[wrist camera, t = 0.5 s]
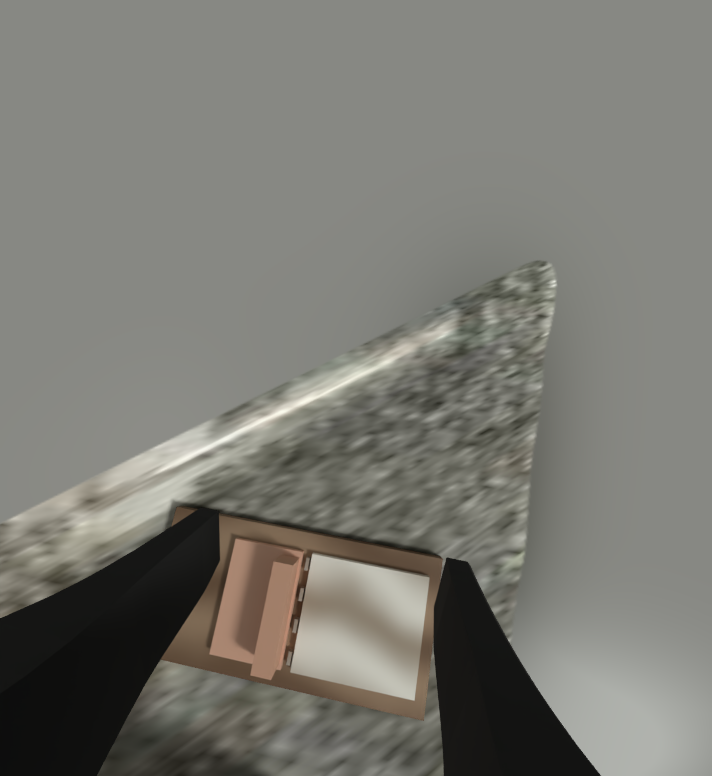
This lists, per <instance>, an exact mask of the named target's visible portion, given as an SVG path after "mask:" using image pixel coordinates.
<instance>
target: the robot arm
mask: <svg viewBox="0 0 712 776" xmlns="http://www.w3.org/2000/svg"><path fill="white" fill-rule="evenodd" d="M219 562H220V531H219V511H217V510H212V509H207V508H202V507H201V508H199V509H198V510H196V511H194V512H193V513H191V514H190V515H188V516H187V517H185V518H184V519H182V520H181V521H179V522H178V523H176V524H175V525H173V526H172V527H170V528H169V529H167V530H165V531H164V532H162V533H161V534H159V535H158V536H156V537H155V538H153V539H151V540H150V541H148V542H147V543H145V544H144V545H142V546H140V547H139V548H137V549H136V550H134V551H132V552H131V553H129V554H127V555H126V556H124V557H122V558H120V559H119V560H117V561H115V562H114V563H112V564H110V565H108V566H107V567H105V568H103V569H102V570H100V571H98V572H96V573H95V574H93V575H91V576H89V577H87V578H85V579H83V580H81V581H80V582H78V583H76V584H74V585H72V586H70V587H68V588H66V589H64V590H62V591H60V592H58V593H56V594H54V595H52V596H49V597H47V598H45V599H43V600H41V601H38V602H36V603H34V604H32V605H29V606H27V607H25V608H23V609H20V610H18V611H16V612H14V613H11V614H9V615H7V616H5V617H2V618H0V776H97V774H98V772H99V770H100V768H101V766H102V764H103V762H104V761H105V759H106V757H107V755H108V753H109V751H110V749H111V747H112V745H113V743H114V741H115V739H116V738H117V736H118V734H119V732H120V730H121V728H122V726H123V724H124V722H125V720H126V719H127V717H128V715H129V713H130V711H131V709H132V708H133V706H134V704H135V702H136V700H137V698H138V697H139V695H140V693H141V691H142V689H143V687H144V686H145V684H146V682H147V680H148V679H149V677H150V675H151V674H152V672H153V671H154V669H155V667H156V666H157V664H158V663H159V661H160V660H161V658H162V656H163V655H164V653H165V652H166V650H167V649H168V647H169V646H170V644H171V643H172V641H173V640H174V638H175V637H176V635H177V634H178V632H179V630H180V629H181V627H182V626H183V624H184V623H185V621H186V620H187V618H188V617H189V615H190V614H191V612H192V610H193V609H194V607H195V606H196V604H197V603H198V601H199V600H200V598H201V596H202V595H203V593H204V592H205V590H206V588H207V586H208V584H209V582H210V580H211V578H212V576H213V574H214V572H215V570H216V568H217V566H218V564H219ZM434 656H435V667H436V678H437V689H438V700H439V710H440V721H441V731H442V744H443V760H444V776H601V775H600V774H599V773H598V772H597V770H596V769H595V768H594V766H593V765H592V764H591V763H590V761H589V760H588V759H587V758H586V756H585V755H584V754H583V752H582V751H581V750H580V749H579V747H578V746H577V745H576V743H575V742H574V740H573V739H572V738H571V736H570V735H569V734H568V732H567V731H566V729H565V728H564V727H563V725H562V724H561V722H560V721H559V720H558V718H557V717H556V715H555V714H554V712H553V711H552V710H551V708H550V707H549V705H548V704H547V702H546V701H545V699H544V698H543V696H542V695H541V693H540V692H539V690H538V689H537V687H536V686H535V684H534V683H533V681H532V680H531V678H530V676H529V675H528V673H527V671H526V670H525V668H524V667H523V665H522V663H521V662H520V660H519V658H518V657H517V655H516V653H515V652H514V650H513V648H512V646H511V645H510V643H509V641H508V639H507V638H506V636H505V634H504V632H503V630H502V629H501V627H500V625H499V623H498V621H497V619H496V618H495V616H494V614H493V612H492V610H491V608H490V606H489V604H488V602H487V600H486V598H485V596H484V594H483V592H482V590H481V588H480V586H479V584H478V582H477V579H476V577H475V575H474V573H473V571H472V568H471V566H470V565H469V563H468V562H466V561H461V560H456V559H451V558H446V562H445V566H444V570H443V574H442V578H441V581H440V585H439V589H438V593H437V597H436V601H435V604H434Z"/></svg>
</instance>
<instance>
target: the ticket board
mask: <svg viewBox="0 0 712 776" xmlns="http://www.w3.org/2000/svg"><path fill="white" fill-rule="evenodd" d="M196 510H198V509H196V508H190V507H185V506H179V507H176V511H175V515H174V519H173V523H172V526H173V525H175V524H176V523H178V522H179V521H181V520H182V519H184V518H185V517H187V516H188V515H190V514H191V513H193V512H194V511H196ZM172 526H171V527H172ZM219 531H220V562H219V564H218V566H217V568H216V570H215V572H214V574H213V576H212V578H211V580H210V582H209V584H208V586H207V588H206V590H205V592H204V593H203V595H202V596H201V598H200V600H199V601H198V603H197V604H196V606H195V607H194V609H193V610H192V612H191V614H190V615H189V617H188V618H187V620H186V621H185V623H184V624H183V626H182V627H181V629H180V630H179V632H178V634H177V635H176V637H175V638H174V640H173V641H172V643H171V644H170V646H169V647H168V649H167V650H166V652H165V653H164V655H163V656H162V658H161V660H165V661H169V662H173V663H178V664H182V665H186V666H191V667H195V668H199V669H203V670H208V671H212V672H216V673H221V674H225V675H229V676H234V677H238V678H242V679H246V680H251V681H255V682H259V683H264V684H268V685H272V686H276V687H281V688H285V689H289V690H294V691H298V692H302V693H307V694H311V695H315V696H319V697H324V698H328V699H332V700H337V701H341V702H345V703H350V704H354V705H358V706H362V707H367V708H371V709H375V710H380V711H384V712H388V713H393V714H397V715H401V716H405V717H410V718H414V719H418V720H423V721H424V713H425V705H426V696H427V688H428V679H429V671H430V662H431V654H432V645H433V637H434V604H435V601H436V597H437V593H438V589H439V585H440V577H441V569H442V560H443V559H442V558H441V556H436V555H431V554H426V553H420V552H415V551H410V550H405V549H400V548H395V547H390V546H385V545H380V544H374V543H369V542H364V541H359V540H354V539H349V538H344V537H339V536H334V535H328V534H323V533H318V532H313V531H308V530H303V529H298V528H293V527H288V526H282V525H277V524H272V523H267V522H262V521H257V520H252V519H247V518H242V517H236V516H231V515H226V514H221V513H219ZM236 538H243V539H248V540H253V541H258V542H263V543H268V544H273V545H278V546H283V547H288V548H293V549H298V550H303V551H304V555H303V560H302V565H301V571H300V576H299V581H298V586H297V592H296V597H295V602H294V607H293V613H292V618H291V623H290V628H289V634H288V639H287V644H286V649H285V654H284V660H283V665H282V668H281V670H276V671H275V673H274V675H273V677H272V679H271V680H268V679H264V678H259V677H255V676H251V675H250V674H251V669H252V664H250V663H245V662H241V661H237V660H232V659H228V658H224V657H219V656H215V655H211V654H209V653H210V649H211V644H212V640H213V636H214V631H215V627H216V623H217V618H218V614H219V609H220V605H221V601H222V596H223V592H224V588H225V583H226V579H227V574H228V570H229V566H230V561H231V557H232V553H233V548H234V544H235V539H236Z"/></svg>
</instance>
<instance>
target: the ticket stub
mask: <svg viewBox="0 0 712 776" xmlns="http://www.w3.org/2000/svg"><path fill="white" fill-rule="evenodd" d="M303 555H304V551H303V550H298V549H293V548H288V547H283V546H278V545H273V544H268V543H263V542H258V541H253V540H248V539H243V538H236V539H235V544H234V548H233V553H232V557H231V561H230V566H229V570H228V574H227V579H226V583H225V588H224V592H223V596H222V601H221V605H220V609H219V614H218V618H217V623H216V627H215V631H214V636H213V640H212V644H211V649H210V653H209V654H211V655H215V656H219V657H224V658H228V659H232V660H237V661H241V662H245V663H250V664H252V669H251V674H250V675H251V676H255V677H259V678H264V679H268V680H271V679H272V677H273V675H274V673H275V671H276V670H281V668H282V665H283V660H284V654H285V649H286V644H287V639H288V634H289V628H290V623H291V618H292V613H293V607H294V602H295V597H296V592H297V586H298V581H299V576H300V571H301V565H302V560H303Z"/></svg>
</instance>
